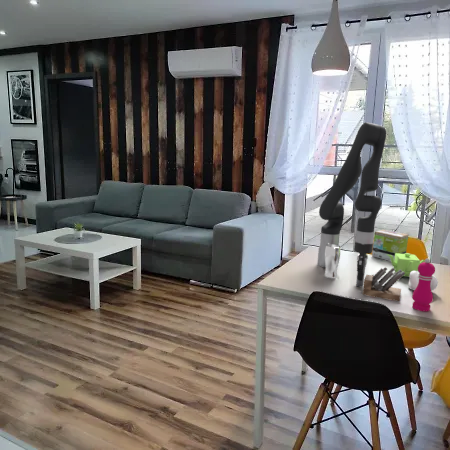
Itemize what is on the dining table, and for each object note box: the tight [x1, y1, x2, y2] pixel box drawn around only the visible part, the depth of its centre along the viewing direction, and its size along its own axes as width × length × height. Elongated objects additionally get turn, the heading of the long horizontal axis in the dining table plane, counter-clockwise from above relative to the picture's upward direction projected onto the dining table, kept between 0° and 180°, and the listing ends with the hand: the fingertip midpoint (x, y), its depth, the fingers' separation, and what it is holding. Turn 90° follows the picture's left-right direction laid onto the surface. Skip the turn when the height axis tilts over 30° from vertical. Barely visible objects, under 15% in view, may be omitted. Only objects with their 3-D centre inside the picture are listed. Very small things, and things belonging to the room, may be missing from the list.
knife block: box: [362, 266, 405, 302], centre depth 174 cm, size 15×9×11 cm, turn 65°
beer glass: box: [323, 244, 341, 280], centre depth 195 cm, size 7×7×15 cm
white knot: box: [407, 271, 439, 292], centre depth 181 cm, size 11×12×9 cm
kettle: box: [387, 252, 425, 279], centre depth 201 cm, size 15×14×11 cm
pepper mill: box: [411, 258, 436, 312], centre depth 160 cm, size 7×7×20 cm
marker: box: [355, 267, 366, 288], centre depth 184 cm, size 3×3×12 cm
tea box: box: [371, 229, 409, 262], centre depth 231 cm, size 15×10×15 cm
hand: (360, 278), depth 185 cm, fingers closed on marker, 3 cm apart
